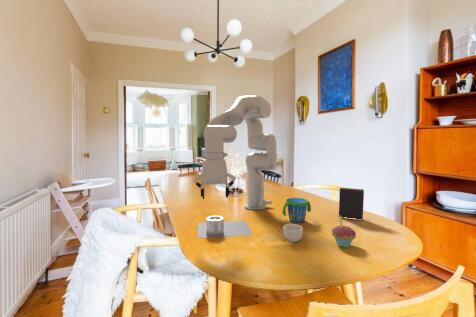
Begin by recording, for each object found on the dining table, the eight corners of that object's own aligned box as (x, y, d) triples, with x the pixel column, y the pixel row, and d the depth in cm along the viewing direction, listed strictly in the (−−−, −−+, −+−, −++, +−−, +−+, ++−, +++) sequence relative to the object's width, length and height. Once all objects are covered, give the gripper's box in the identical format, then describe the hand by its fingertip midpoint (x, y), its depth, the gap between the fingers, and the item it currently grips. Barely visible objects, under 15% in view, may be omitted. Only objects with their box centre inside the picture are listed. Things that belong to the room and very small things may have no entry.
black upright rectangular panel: (362, 218, 132) (363, 189, 131) (362, 221, 128) (363, 190, 127) (339, 215, 137) (340, 187, 135) (338, 218, 133) (339, 188, 132)
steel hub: (222, 228, 113) (222, 215, 113) (224, 235, 106) (224, 220, 106) (206, 229, 112) (206, 216, 112) (206, 236, 105) (206, 221, 105)
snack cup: (288, 225, 122) (288, 204, 121) (277, 218, 132) (277, 198, 131) (316, 222, 127) (317, 201, 126) (304, 215, 137) (304, 196, 136)
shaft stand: (245, 223, 124) (245, 209, 124) (252, 238, 107) (252, 221, 106) (198, 226, 121) (197, 211, 120) (198, 241, 103) (197, 224, 103)
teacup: (299, 245, 100) (300, 231, 99) (280, 241, 103) (280, 228, 103) (305, 236, 109) (305, 223, 108) (287, 233, 112) (287, 221, 112)
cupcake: (344, 251, 95) (345, 218, 94) (326, 242, 103) (327, 212, 101) (360, 246, 99) (361, 215, 98) (342, 238, 107) (343, 209, 105)
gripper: (234, 154, 111) (234, 194, 113) (192, 155, 109) (194, 196, 111) (236, 156, 104) (237, 199, 106) (192, 157, 101) (193, 201, 103)
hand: (215, 197), depth 108 cm, fingers open, 9 cm apart
